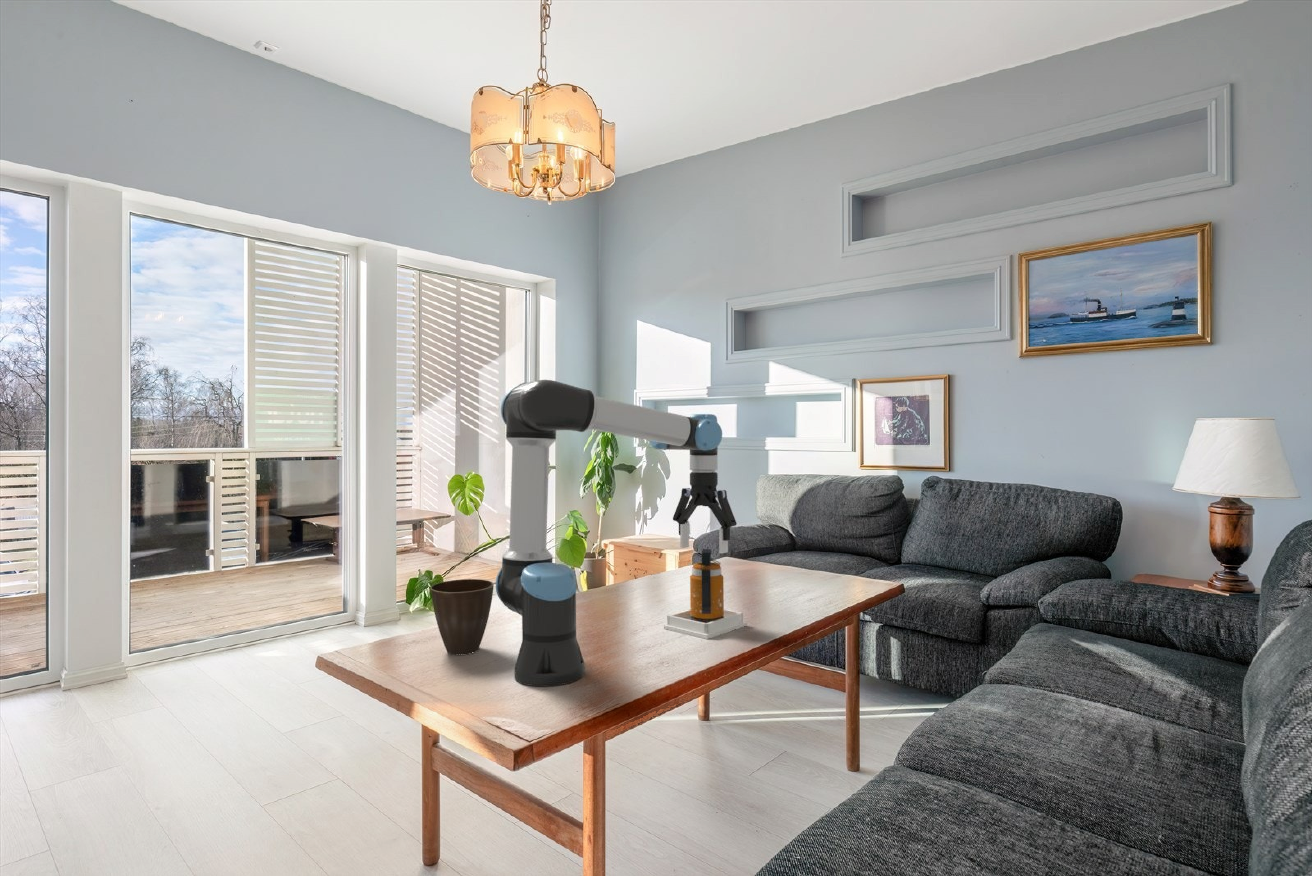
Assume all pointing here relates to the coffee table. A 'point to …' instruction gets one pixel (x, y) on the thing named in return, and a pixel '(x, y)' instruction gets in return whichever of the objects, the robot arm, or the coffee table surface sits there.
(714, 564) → the canister
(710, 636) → the tray
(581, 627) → the coffee table surface
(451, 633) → the plant pot
